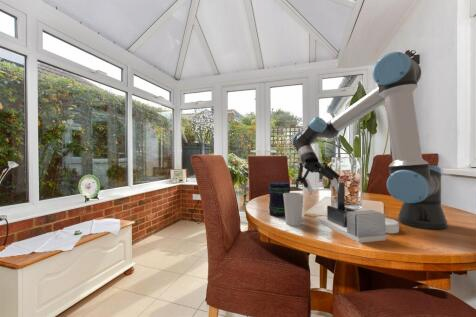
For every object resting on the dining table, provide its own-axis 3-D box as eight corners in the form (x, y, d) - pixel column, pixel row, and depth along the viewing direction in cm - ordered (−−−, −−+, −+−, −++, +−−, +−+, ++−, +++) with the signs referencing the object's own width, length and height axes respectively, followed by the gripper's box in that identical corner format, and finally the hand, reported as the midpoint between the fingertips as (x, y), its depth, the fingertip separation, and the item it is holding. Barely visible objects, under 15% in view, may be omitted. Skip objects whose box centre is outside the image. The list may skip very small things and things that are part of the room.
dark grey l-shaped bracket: (334, 218, 90) (334, 182, 89) (341, 217, 90) (341, 181, 90) (364, 231, 74) (364, 187, 74) (373, 230, 75) (373, 187, 74)
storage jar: (290, 217, 101) (289, 184, 101) (268, 216, 104) (267, 183, 103) (290, 212, 111) (290, 181, 111) (270, 211, 113) (269, 181, 113)
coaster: (364, 230, 84) (364, 221, 84) (369, 223, 92) (369, 215, 92) (397, 236, 78) (397, 226, 78) (400, 228, 85) (400, 219, 85)
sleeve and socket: (322, 220, 92) (322, 202, 92) (344, 218, 94) (344, 201, 94) (358, 237, 72) (358, 215, 72) (385, 235, 74) (385, 213, 74)
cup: (304, 227, 88) (304, 196, 88) (283, 226, 89) (283, 195, 89) (302, 221, 96) (302, 192, 96) (283, 220, 97) (283, 192, 97)
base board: (315, 220, 97) (315, 216, 97) (336, 218, 99) (336, 215, 99) (358, 242, 72) (358, 238, 72) (385, 240, 74) (385, 235, 74)
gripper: (327, 161, 117) (347, 195, 103) (282, 162, 112) (296, 198, 98) (333, 151, 112) (355, 185, 97) (286, 151, 107) (301, 188, 92)
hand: (325, 192), depth 98 cm, fingers open, 13 cm apart
